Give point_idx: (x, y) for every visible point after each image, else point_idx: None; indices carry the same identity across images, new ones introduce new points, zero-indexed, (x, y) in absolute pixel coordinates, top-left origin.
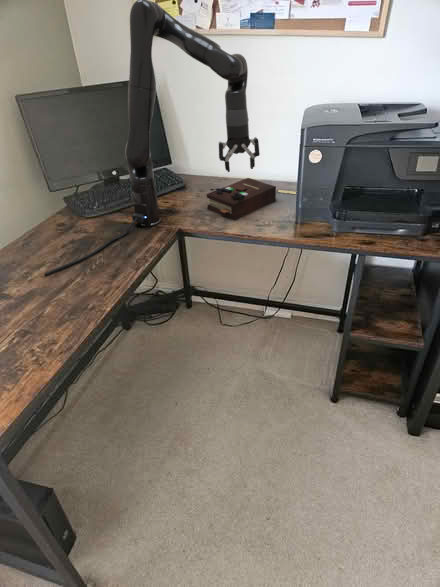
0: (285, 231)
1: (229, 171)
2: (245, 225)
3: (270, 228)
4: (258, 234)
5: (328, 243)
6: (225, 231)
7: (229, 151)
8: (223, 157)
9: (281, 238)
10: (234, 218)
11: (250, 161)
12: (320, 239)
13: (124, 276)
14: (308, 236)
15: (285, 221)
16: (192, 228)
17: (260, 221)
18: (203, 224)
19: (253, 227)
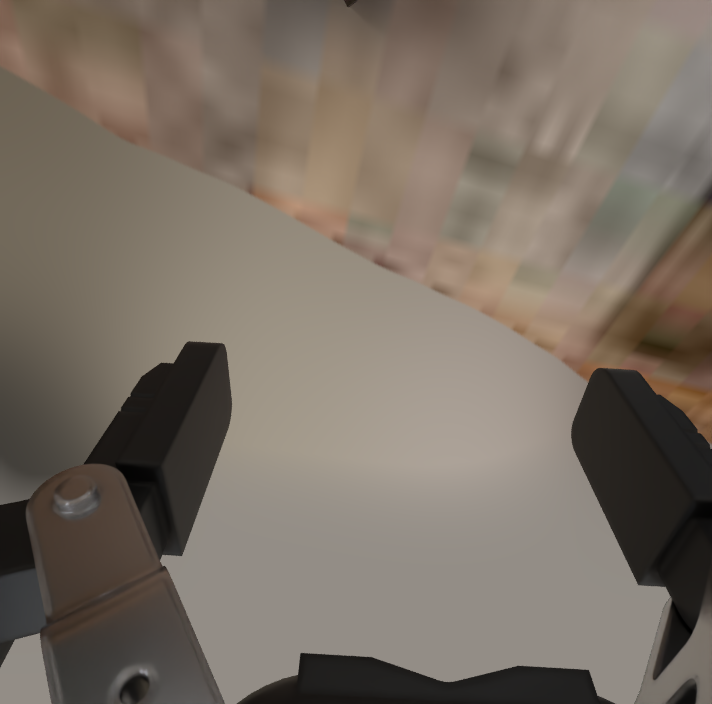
0: (591, 273)
1: (225, 421)
2: (404, 131)
3: (535, 217)
4: (441, 268)
5: (689, 413)
6: (263, 182)
7: (118, 700)
8: (7, 635)
9: (532, 333)
10: (349, 6)
11: (631, 491)
12: (686, 380)
13: None
14: (660, 346)
15: (672, 147)
16: (29, 68)
17: (522, 96)
18: (103, 17)
19: (444, 176)
